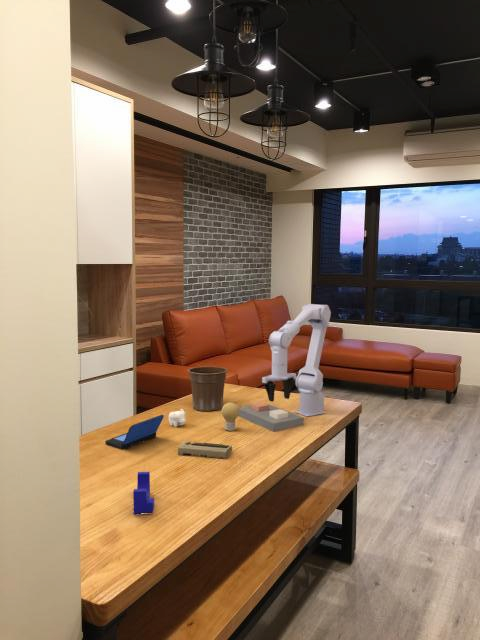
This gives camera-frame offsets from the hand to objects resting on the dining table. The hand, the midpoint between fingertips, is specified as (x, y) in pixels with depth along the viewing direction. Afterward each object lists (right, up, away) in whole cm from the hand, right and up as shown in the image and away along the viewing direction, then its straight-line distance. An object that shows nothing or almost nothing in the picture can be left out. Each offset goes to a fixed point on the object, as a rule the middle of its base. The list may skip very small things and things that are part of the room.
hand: (279, 399), depth 199 cm
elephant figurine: (-38, -10, -1) cm, 39 cm away
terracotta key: (-7, -6, +11) cm, 14 cm away
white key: (0, -8, +1) cm, 8 cm away
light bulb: (-18, -10, -6) cm, 22 cm away
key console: (-3, -9, +6) cm, 11 cm away
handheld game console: (-50, -12, -19) cm, 55 cm away
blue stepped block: (-38, -17, -64) cm, 77 cm away
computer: (-26, -13, -29) cm, 41 cm away
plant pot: (-28, -7, +23) cm, 37 cm away
